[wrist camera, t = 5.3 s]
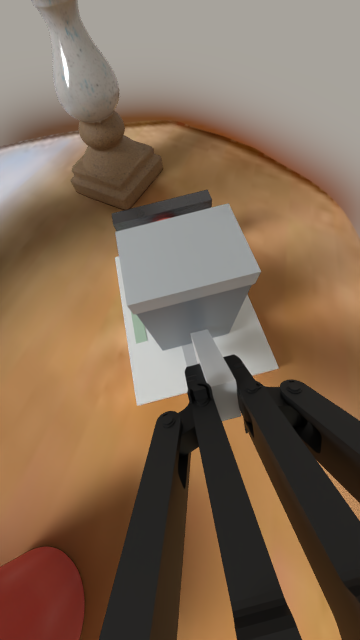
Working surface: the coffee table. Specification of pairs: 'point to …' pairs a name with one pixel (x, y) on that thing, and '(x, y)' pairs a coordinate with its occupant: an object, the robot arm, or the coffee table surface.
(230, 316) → the grey rectangular block
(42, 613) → the flower pot
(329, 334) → the coffee table surface
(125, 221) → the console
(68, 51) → the candle holder
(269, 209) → the coffee table surface
